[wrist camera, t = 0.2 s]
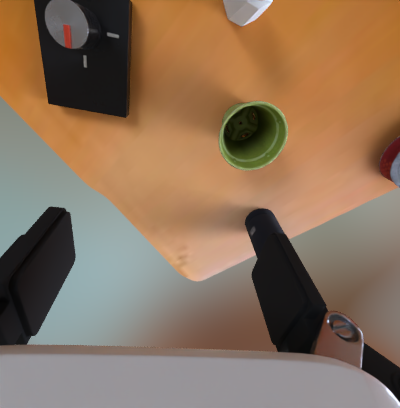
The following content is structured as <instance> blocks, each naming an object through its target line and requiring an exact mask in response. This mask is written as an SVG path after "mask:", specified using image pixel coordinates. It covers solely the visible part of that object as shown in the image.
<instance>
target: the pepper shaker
mask: <svg viewBox="0 0 400 408" xmlns="http://www.w3.org/2000/svg"><path fill="white" fill-rule="evenodd" d="M272 1H273V0H223V3H224V7H225V10H226V14H227V17H228V20H230V21H232V22H234V23H236V24H237V25H239V26H241V27H242V26H244V25H246V24H248V23H250V22H252V21H254V20H256V19H257V18H258V17H259V16H260V15H261V14H262V13H263V12H264V11H265V10H266V9H267V7H268V6H269V5H270V4H271V3H272Z"/></svg>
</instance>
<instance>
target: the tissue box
mask: <svg viewBox="0 0 400 408" xmlns="http://www.w3.org/2000/svg"><path fill="white" fill-rule="evenodd" d="M379 170H380V172H381V174H382V175H383V176H384V177H385V178H387V179H389V180H391V181H392V182H394V183H395V184H396V185H397V186H398V187H399V188H400V136H399V137H398V138H396V139H395V140H394V141H393V142H392V143H390V145H389V146H388V147H387V148H386V149H385V151H384V152H383V154H382V156H381V158H380V162H379Z"/></svg>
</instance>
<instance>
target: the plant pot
mask: <svg viewBox="0 0 400 408" xmlns="http://www.w3.org/2000/svg"><path fill="white" fill-rule="evenodd" d="M252 113H254V115H255V120H253V116H252ZM240 121H241V122H242V124H241V125H240V124H239V122H240ZM226 125H227V127H228V130H229V132H227V130H226V128H225V126H226ZM246 133H248V135H247V136H245V137H241V136H242V135H245V134H246ZM287 136H288V126H287V122H286V119H285V117H284V115H283V113H282V112H281V111H280V110H279V109H278V108H277V107H276V106H274V105H272V104H270V103H267V102H263V101H253V102H248V103H239V104H235V105H233V106H232V107H230V108H229V109H228V110H227V111H226V113H225V115H224V117H223V120H222V127H221V129H220V133H219V148H220V151H221V154H222V156H223V158H224V159H225V160H226V161H227V162H228V163H229V164H230V165H231V166H233V167H235V168H237V169H240V170H255V169H259V168H262V167H264V166H266V165H268V164H269V163H271V162H272V161H273V160H274V159H275V158H276V157H277V156H278V155H279V154H280V152H281V151H282V150H283V148H284V146H285V143H286V140H287Z"/></svg>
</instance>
